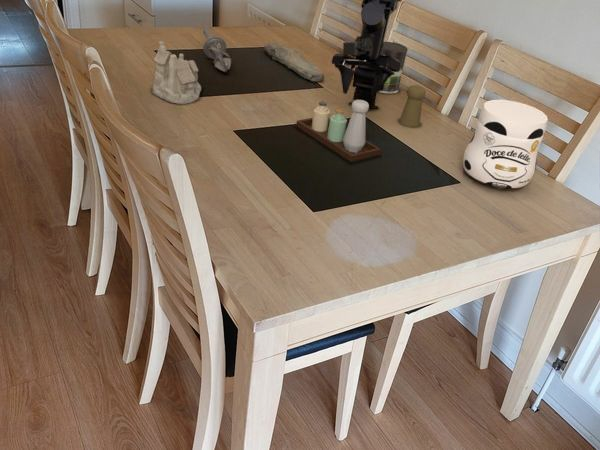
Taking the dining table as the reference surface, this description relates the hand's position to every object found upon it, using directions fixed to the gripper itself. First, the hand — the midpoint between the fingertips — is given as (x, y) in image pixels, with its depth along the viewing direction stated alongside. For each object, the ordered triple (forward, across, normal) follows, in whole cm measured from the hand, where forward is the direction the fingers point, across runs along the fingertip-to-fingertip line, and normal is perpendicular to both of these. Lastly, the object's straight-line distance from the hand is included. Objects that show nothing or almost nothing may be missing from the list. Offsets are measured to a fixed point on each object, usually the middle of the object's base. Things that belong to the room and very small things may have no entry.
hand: (358, 94), depth 158 cm
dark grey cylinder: (-10, -19, +38) cm, 44 cm away
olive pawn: (+2, +2, +25) cm, 25 cm away
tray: (+13, -2, -2) cm, 14 cm away
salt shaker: (+15, +4, -3) cm, 16 cm away
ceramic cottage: (+8, -50, -19) cm, 54 cm away
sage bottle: (+13, -2, -3) cm, 13 cm away
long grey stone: (-13, -50, +25) cm, 57 cm away
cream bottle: (+10, -9, -2) cm, 14 cm away
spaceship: (-9, -68, +5) cm, 68 cm away
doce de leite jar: (+15, +34, +17) cm, 41 cm away
